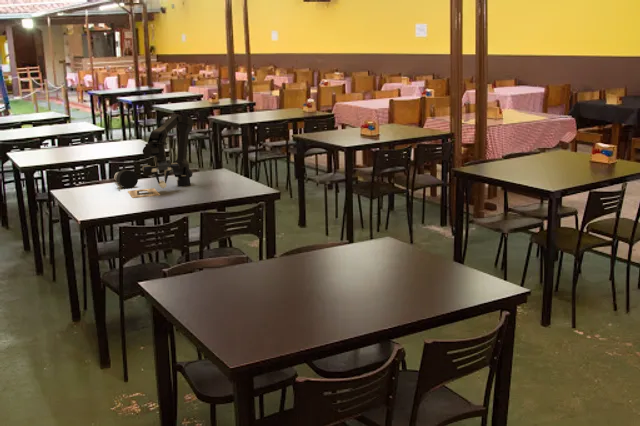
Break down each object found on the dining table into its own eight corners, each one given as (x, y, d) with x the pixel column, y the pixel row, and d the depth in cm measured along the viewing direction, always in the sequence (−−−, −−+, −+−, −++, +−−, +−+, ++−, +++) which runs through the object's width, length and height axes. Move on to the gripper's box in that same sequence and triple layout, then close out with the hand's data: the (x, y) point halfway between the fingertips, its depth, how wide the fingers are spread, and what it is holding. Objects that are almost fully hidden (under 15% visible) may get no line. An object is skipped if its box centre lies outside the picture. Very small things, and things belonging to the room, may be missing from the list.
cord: (165, 181, 372) (159, 178, 370) (167, 184, 365) (162, 181, 364) (162, 186, 372) (157, 184, 370) (164, 189, 365) (159, 186, 364)
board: (154, 191, 378) (153, 184, 377) (160, 197, 362) (159, 190, 361) (128, 194, 373) (127, 186, 372) (132, 200, 356) (132, 192, 356)
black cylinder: (122, 187, 417) (129, 171, 417) (134, 191, 386) (140, 174, 387) (106, 181, 412) (112, 165, 413) (116, 184, 382) (123, 167, 382)
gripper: (144, 158, 353) (146, 187, 357) (180, 154, 360) (182, 184, 364) (140, 155, 363) (143, 184, 367) (176, 152, 370) (178, 180, 374)
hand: (162, 183), depth 367 cm, fingers closed on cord, 3 cm apart
